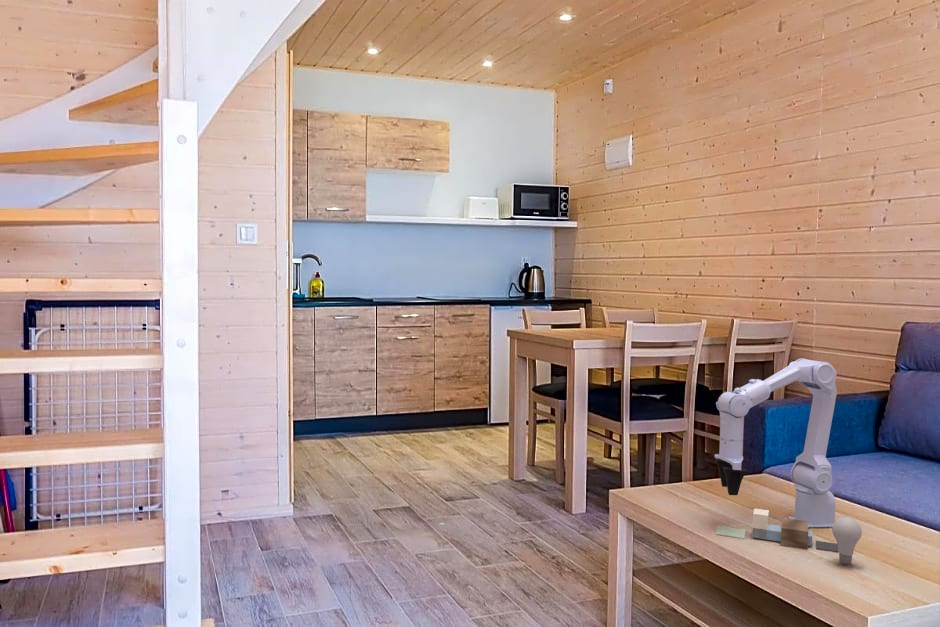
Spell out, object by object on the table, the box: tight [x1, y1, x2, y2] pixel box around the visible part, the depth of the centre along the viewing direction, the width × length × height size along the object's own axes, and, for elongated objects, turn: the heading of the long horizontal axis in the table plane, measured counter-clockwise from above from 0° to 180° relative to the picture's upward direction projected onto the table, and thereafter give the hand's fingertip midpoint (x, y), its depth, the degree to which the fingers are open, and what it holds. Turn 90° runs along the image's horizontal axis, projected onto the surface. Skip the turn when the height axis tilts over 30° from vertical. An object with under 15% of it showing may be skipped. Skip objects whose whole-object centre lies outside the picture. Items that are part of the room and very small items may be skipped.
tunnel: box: [780, 517, 809, 551], centre depth 190 cm, size 6×9×4 cm
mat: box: [714, 525, 747, 539], centre depth 197 cm, size 7×7×1 cm
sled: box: [751, 508, 813, 547], centre depth 191 cm, size 14×5×6 cm, turn 66°
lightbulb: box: [831, 516, 863, 566], centre depth 176 cm, size 6×6×11 cm
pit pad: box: [815, 540, 839, 554], centre depth 187 cm, size 6×6×1 cm
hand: (729, 490), depth 199 cm, fingers open, 7 cm apart
